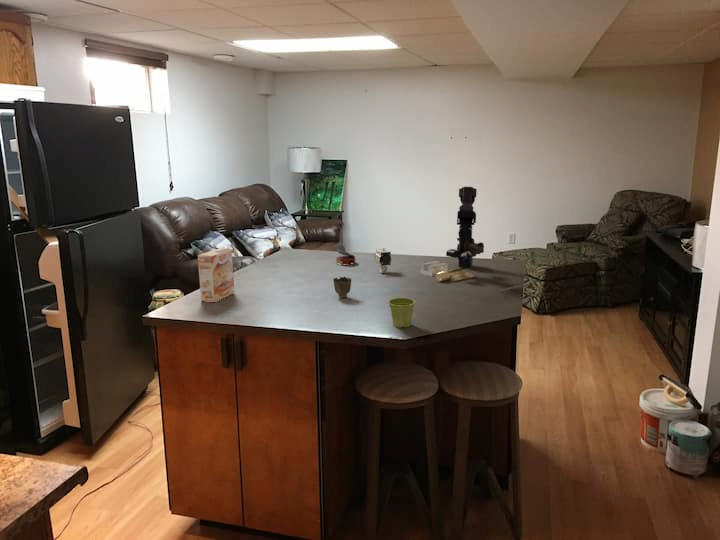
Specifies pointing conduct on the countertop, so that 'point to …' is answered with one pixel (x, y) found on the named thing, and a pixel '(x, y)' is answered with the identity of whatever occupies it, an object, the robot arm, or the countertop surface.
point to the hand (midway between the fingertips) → (464, 269)
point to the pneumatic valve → (383, 259)
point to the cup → (342, 286)
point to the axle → (448, 274)
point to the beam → (462, 276)
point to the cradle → (433, 268)
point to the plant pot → (401, 311)
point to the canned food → (345, 257)
